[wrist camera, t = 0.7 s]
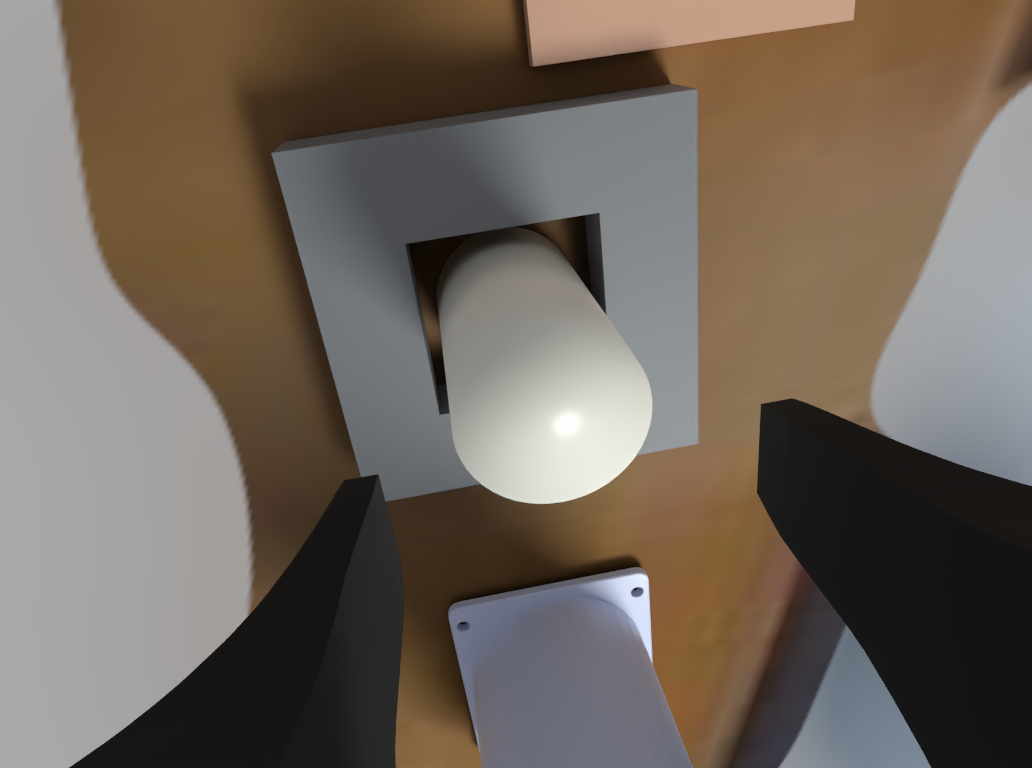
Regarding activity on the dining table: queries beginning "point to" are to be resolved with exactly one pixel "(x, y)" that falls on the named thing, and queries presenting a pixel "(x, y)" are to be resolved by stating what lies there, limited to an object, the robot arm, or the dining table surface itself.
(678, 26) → the tile
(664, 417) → the grey square frame
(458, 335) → the plug
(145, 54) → the dining table surface
